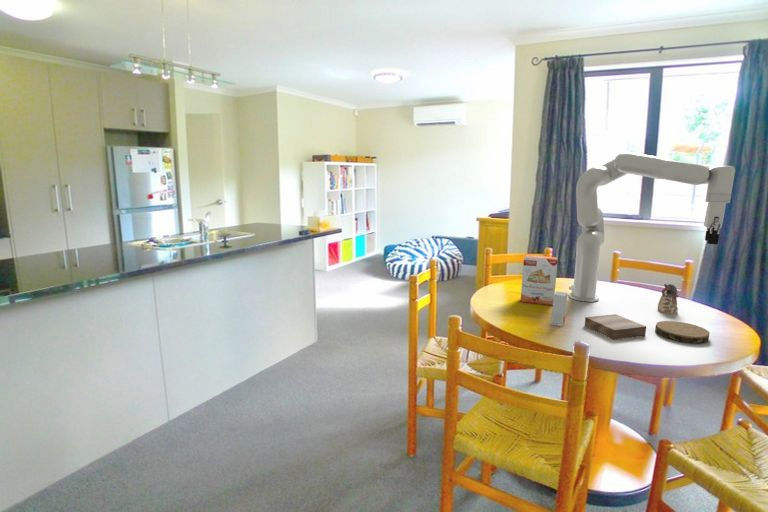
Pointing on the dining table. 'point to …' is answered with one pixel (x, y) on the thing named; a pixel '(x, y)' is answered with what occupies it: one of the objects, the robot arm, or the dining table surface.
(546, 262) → the cracker box
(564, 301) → the skincare box
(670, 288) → the figurine
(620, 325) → the walnut base
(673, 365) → the dining table surface
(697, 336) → the wood slice coaster
